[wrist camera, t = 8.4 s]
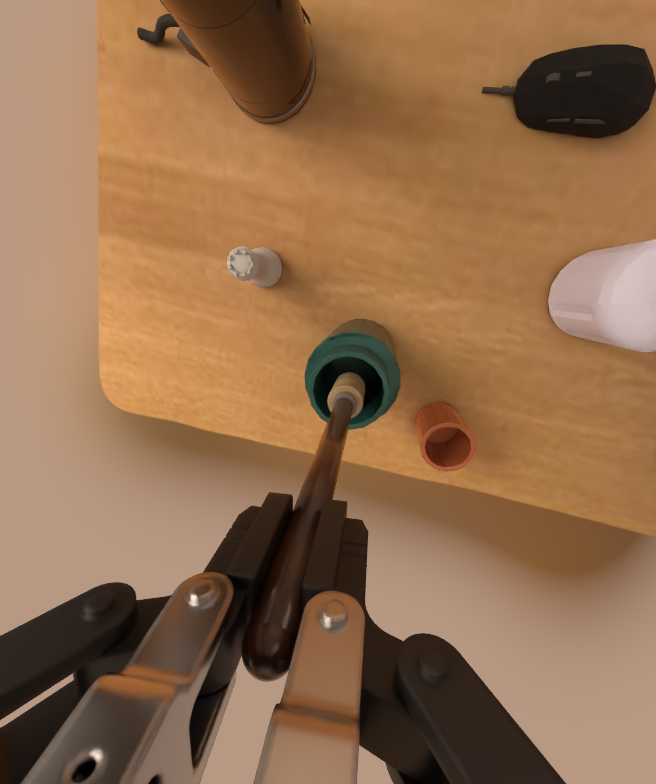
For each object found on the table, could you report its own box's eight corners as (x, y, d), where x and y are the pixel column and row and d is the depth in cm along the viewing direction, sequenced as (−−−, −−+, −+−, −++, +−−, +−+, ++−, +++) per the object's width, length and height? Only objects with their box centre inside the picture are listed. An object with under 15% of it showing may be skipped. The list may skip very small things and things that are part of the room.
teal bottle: (315, 360, 44) (276, 403, 27) (351, 305, 42) (332, 315, 25) (368, 396, 44) (362, 460, 28) (407, 343, 42) (425, 378, 25)
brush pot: (405, 428, 45) (410, 452, 38) (433, 393, 43) (443, 412, 37) (441, 452, 45) (452, 480, 38) (470, 418, 43) (487, 442, 37)
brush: (328, 390, 28) (184, 675, 7) (345, 365, 27) (238, 605, 7) (354, 407, 28) (281, 735, 7) (371, 383, 27) (346, 673, 7)
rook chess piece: (249, 289, 43) (221, 289, 35) (243, 250, 42) (213, 241, 34) (285, 285, 42) (264, 284, 34) (280, 245, 41) (257, 235, 33)
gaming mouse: (490, 51, 34) (504, 20, 30) (657, 62, 32) (695, 32, 28) (473, 128, 35) (485, 109, 32) (631, 142, 34) (663, 124, 30)
